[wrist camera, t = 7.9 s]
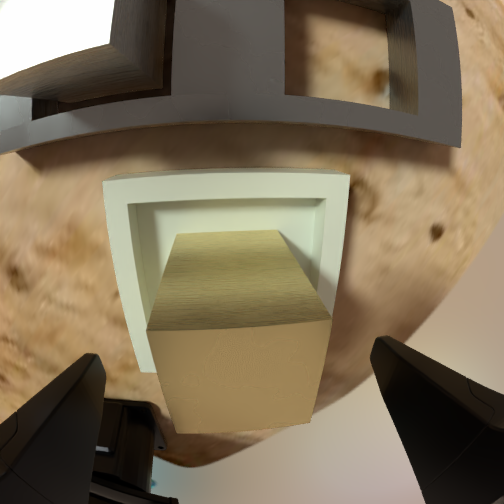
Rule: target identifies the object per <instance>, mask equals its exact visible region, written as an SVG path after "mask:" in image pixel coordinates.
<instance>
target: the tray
mask: <svg viewBox="0 0 504 504" xmlns="http://www.w3.org/2000/svg"><path fill="white" fill-rule="evenodd" d="M349 182H350V175H348V174H345V173H342V172H339V171H337V170H333V169H310V168H206V169H184V170H167V171H153V172H141V173H130V174H120V175H115V176H113V177H110V178H108V179H106V180H104V181H102V184H103V195H104V204H105V212H106V220H107V227H108V234H109V240H110V247H111V252H112V258H113V264H114V269H115V274H116V279H117V284H118V289H119V293H120V298H121V302H122V306H123V310H124V314H125V318H126V322H127V326H128V330H129V334H130V337H131V341H132V344H133V348H134V351H135V355H136V358H137V361H138V364H139V368H140V371H141V372H154V373H157V372H156V368H155V364H154V361H153V357H152V353H151V350H150V346H149V342H148V338H147V334H146V329H147V325H148V322H149V318H150V315H151V311H152V308H153V305H154V301H155V298H156V295H157V292H158V288H159V285H160V282H161V279H162V276H163V273H164V270H165V267H166V264H167V261H168V258H169V255H170V252H171V249H172V246H173V243H174V240H175V237H176V234H179V233H200V232H223V231H249V230H278V232H279V233H280V235H281V237H282V238H283V240H284V241H285V243H286V244H287V246H288V248H289V249H290V251H291V252H292V254H293V255H294V257H295V259H296V260H297V262H298V263H299V265H300V267H301V268H302V270H303V271H304V273H305V275H306V276H307V278H308V279H309V281H310V283H311V284H312V286H313V288H314V289H315V291H316V292H317V294H318V296H319V297H320V299H321V301H322V302H323V304H324V306H325V307H326V309H327V310H328V312H329V314H330V315H331V317H332V315H333V310H334V304H335V298H336V292H337V285H338V279H339V272H340V265H341V258H342V250H343V242H344V234H345V225H346V216H347V206H348V194H349Z"/></svg>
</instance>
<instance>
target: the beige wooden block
mask: <svg viewBox="0 0 504 504" xmlns="http://www.w3.org/2000/svg"><path fill="white" fill-rule="evenodd" d="M332 322H333V319H332V317H331V315H330V314H329V312H328V310H327V309H326V307H325V306H324V304H323V302H322V301H321V299H320V297H319V296H318V294H317V292H316V291H315V289H314V288H313V286H312V284H311V283H310V281H309V279H308V278H307V276H306V275H305V273H304V271H303V270H302V268H301V267H300V265H299V263H298V262H297V260H296V259H295V257H294V255H293V254H292V252H291V251H290V249H289V248H288V246H287V244H286V243H285V241H284V240H283V238H282V237H281V235H280V233H279V232H278V230H249V231H223V232H200V233H179V234H176V237H175V240H174V243H173V246H172V249H171V252H170V255H169V258H168V261H167V264H166V267H165V270H164V273H163V276H162V279H161V282H160V285H159V288H158V292H157V295H156V298H155V301H154V305H153V308H152V311H151V315H150V318H149V322H148V325H147V329H146V334H147V338H148V342H149V346H150V350H151V353H152V357H153V361H154V364H155V368H156V372H157V375H158V378H159V382H160V385H161V388H162V392H163V395H164V398H165V401H166V404H167V407H168V410H169V413H170V416H171V419H172V422H173V425H174V428H175V430H176V433H224V432H240V431H252V430H262V429H270V428H278V427H286V426H293V425H299V424H305V423H310V420H311V416H312V413H313V409H314V405H315V401H316V397H317V393H318V389H319V384H320V380H321V376H322V371H323V367H324V362H325V357H326V353H327V348H328V343H329V338H330V333H331V327H332Z"/></svg>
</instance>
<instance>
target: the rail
mask: <svg viewBox="0 0 504 504" xmlns="http://www.w3.org/2000/svg"><path fill="white" fill-rule="evenodd" d="M337 1H341V2H346V3H350V4H353V5H357V6H361V7H364V8H368V9H371V10H375V11H378V12H381V13H384V14H385V16H386V26H387V37H388V52H389V74H390V109H386V108H381V107H376V106H371V105H365V104H359V103H353V102H347V101H340V100H332V99H324V98H315V97H305V96H294V95H285V27H284V0H176V6H175V18H174V33H173V51H172V79H171V96H161V97H151V98H142V99H134V100H127V101H120V102H114V103H108V104H102V105H97V106H91V107H86V108H81V109H77V110H72V111H68V112H64V113H60V114H58V101H54V100H46V99H38V98H29V97H18V96H6V95H0V155H3V154H7V153H12V152H17V151H20V150H24V149H28V148H32V147H36V146H40V145H44V144H48V143H53V142H57V141H62V140H67V139H72V138H77V137H83V136H88V135H94V134H101V133H107V132H114V131H122V130H129V129H138V128H147V127H158V126H170V125H185V124H207V123H272V124H294V125H309V126H321V127H332V128H341V129H350V130H358V131H366V132H373V133H379V134H386V135H392V136H397V137H403V138H408V139H413V140H418V141H423V142H428V143H433V144H439V145H446V146H451V147H457V148H461V132H462V88H461V70H460V58H459V49H458V41H457V33H456V27H455V21H454V15H453V10H452V7H450V6H448V5H446V4H445V3H443V2H441V1H439V0H337Z"/></svg>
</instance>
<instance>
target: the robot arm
mask: <svg viewBox="0 0 504 504" xmlns="http://www.w3.org/2000/svg"><path fill="white" fill-rule="evenodd" d="M370 361H371V364H372V367H373V370H374V373H375V376H376V379H377V383H378V386H379V388H380V392H381V395H382V397H383V400H384V402H385V404H386V407H387V409H388V411H389V413H390V415H391V418H392V420H393V422H394V425H395V427H396V429H397V432H398V434H399V437H400V439H401V441H402V444H403V446H404V448H405V451H406V453H407V456H408V458H409V461H410V463H411V465H412V468H413V471H414V473H415V476H416V478H417V481H418V483H419V486H420V489H421V491H422V495H423V497H424V500H425V503H426V504H504V395H503V394H501V393H498V392H496V391H494V390H491V389H489V388H487V387H485V386H483V385H481V384H479V383H477V382H475V381H473V380H471V379H469V378H466V377H465V376H463V375H461V374H459V373H458V372H456V371H454V370H452V369H450V368H448V367H446V366H444V365H442V364H441V363H439V362H437V361H435V360H433V359H431V358H429V357H427V356H425V355H423V354H422V353H420V352H418V351H416V350H414V349H412V348H410V347H408V346H407V345H405V344H403V343H401V342H399V341H397V340H395V339H394V338H392V337H390V336H387V335H385V336H380V337H377V338H376V339H375V342H374V345H373V348H372V351H371V355H370ZM105 384H106V372H105V369H104V367H103V364H102V362H101V359H100V357H99V355H98V354H94V353H86V354H84V355H83V356H82V357H81V358H79V359H78V360H77V361H76V362H74V363H73V364H72V365H71V366H70V367H68V368H67V369H66V370H65V371H63V372H62V373H61V374H60V375H59V376H57V377H56V378H55V379H54V380H53V381H51V382H50V383H49V384H48V385H47V386H45V387H44V388H43V389H42V390H41V391H39V392H38V393H37V394H36V395H35V396H33V397H32V398H31V399H30V400H29V401H27V402H26V403H25V404H24V405H23V406H22V407H20V408H19V409H18V410H17V412H14V413H13V414H12V415H11V416H10V417H9V418H7V419H6V420H5V421H4V422H2V423H1V424H0V504H179V502H178V499H177V498H172V497H169V498H167V497H163V496H159V495H155V494H151V493H150V492H151V477H152V464H153V453H154V450H166V449H167V443H166V441H165V439H164V436H163V434H162V432H161V429H160V427H159V424H158V422H157V419H156V417H155V414H154V412H153V409H152V407H151V405H150V404H148V403H145V402H130V401H117V400H106V399H104V392H105Z"/></svg>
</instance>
